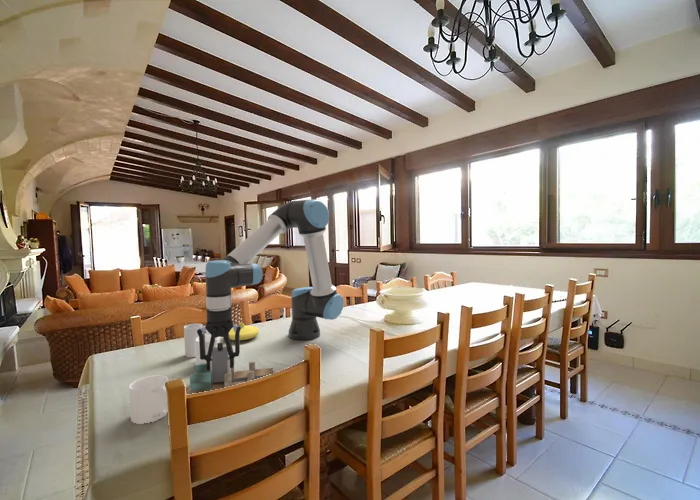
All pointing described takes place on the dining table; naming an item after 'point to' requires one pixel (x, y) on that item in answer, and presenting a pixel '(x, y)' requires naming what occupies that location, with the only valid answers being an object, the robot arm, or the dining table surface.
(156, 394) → the mug
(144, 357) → the dining table surface
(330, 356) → the dining table surface
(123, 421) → the dining table surface
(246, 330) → the yellow pattypan squash
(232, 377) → the board
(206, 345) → the cup
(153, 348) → the dining table surface
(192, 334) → the mug
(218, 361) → the block
